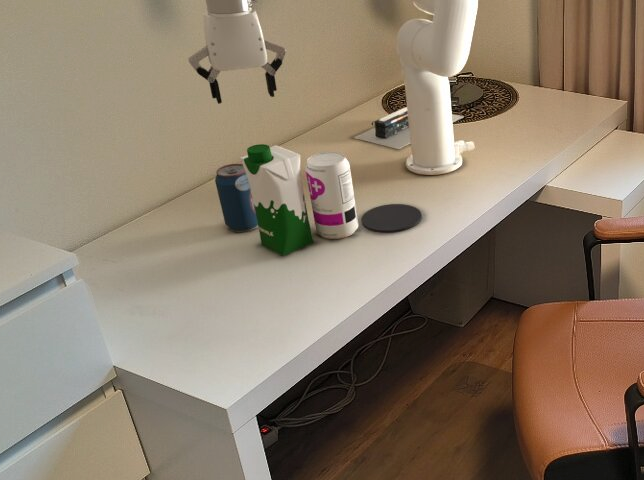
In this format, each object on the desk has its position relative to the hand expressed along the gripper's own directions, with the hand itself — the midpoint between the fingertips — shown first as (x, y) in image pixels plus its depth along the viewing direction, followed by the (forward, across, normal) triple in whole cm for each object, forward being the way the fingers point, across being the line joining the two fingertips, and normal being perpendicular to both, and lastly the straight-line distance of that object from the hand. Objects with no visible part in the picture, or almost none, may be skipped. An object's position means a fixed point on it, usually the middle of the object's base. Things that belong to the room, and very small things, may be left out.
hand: (245, 98), depth 171 cm
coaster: (+24, -23, +13) cm, 35 cm away
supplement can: (+24, -12, +13) cm, 30 cm away
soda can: (+25, +5, +3) cm, 25 cm away
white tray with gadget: (+23, -41, -36) cm, 59 cm away
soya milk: (+25, -2, +14) cm, 29 cm away
